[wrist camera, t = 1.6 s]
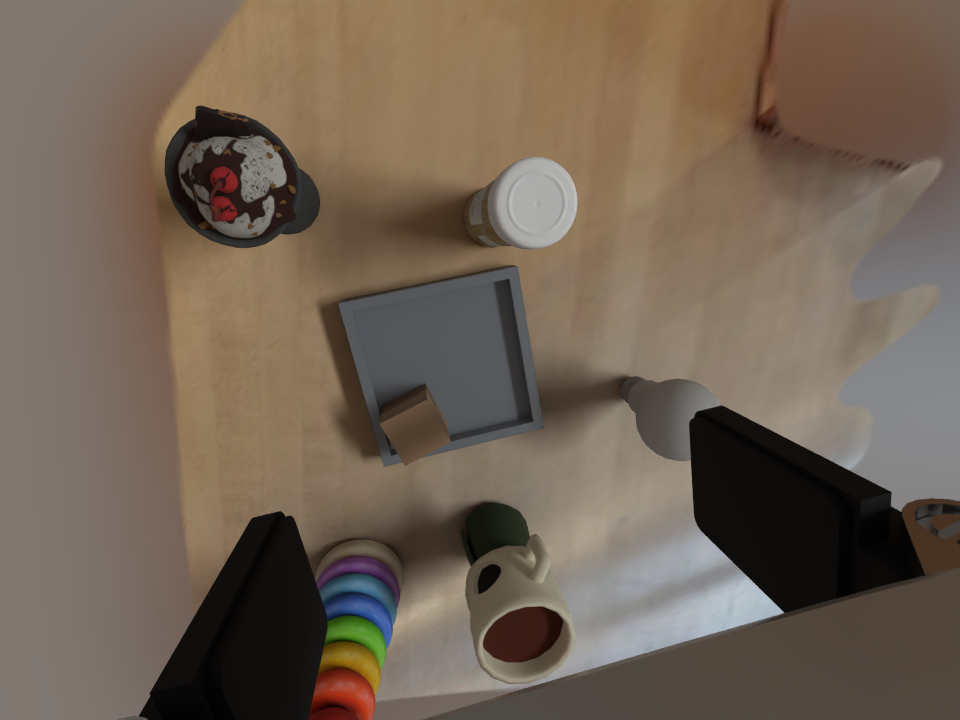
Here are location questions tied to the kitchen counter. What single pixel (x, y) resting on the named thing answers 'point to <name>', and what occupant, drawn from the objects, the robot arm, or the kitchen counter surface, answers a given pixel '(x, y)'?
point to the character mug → (513, 598)
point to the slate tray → (448, 355)
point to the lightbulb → (666, 412)
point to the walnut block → (414, 424)
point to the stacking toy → (355, 627)
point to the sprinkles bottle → (523, 206)
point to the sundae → (237, 180)
